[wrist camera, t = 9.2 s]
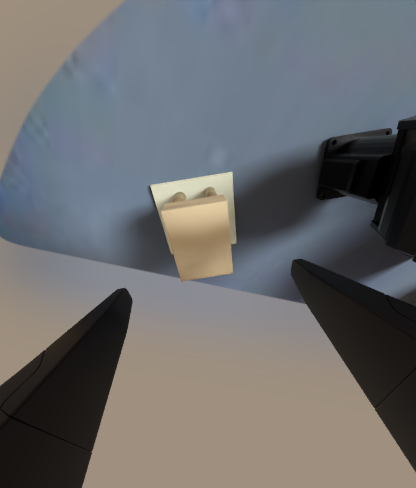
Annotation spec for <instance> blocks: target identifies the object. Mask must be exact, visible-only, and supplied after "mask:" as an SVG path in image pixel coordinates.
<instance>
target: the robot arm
mask: <svg viewBox="0 0 416 488" xmlns="http://www.w3.org/2000/svg"><path fill="white" fill-rule="evenodd" d="M397 129H399V130H398V133H397V134H395V135H391V134H392V129H391V128H387V129H380V130H374V131H368V132H362V133H356V134H349V135H343V136H337V137H332V138H330V139H329V140H328V141H327V145H326V150H325V155H324V160H323V164H322V169H321V174H320V180H319V187H318V192H317V199H319V200H325V199H332V198H338V197H344V196H350V197H353V198H357V199H360V200H363V201H367V202H370V203H374V204H377V209H376V213H375V216H374V220H372V222H371V227H372V228H373V229H374V230H376V231H377V232H378V233H379V234H380V235H381V236H382V237H383V238H384V239H385V240H386V241H385V244H386V245H388V246H389V247H391V248H393V249H395V250H397V251H399V252H401V253H403V254H405V255H407V256H410V257H413V259H412V261H414V262H416V116H414V117H410V118H407V119H403V120H400V121H399V123H398V127H397ZM385 133H386V134H385ZM384 134H385V135H384ZM332 141H334V143H333V145H332ZM322 194H323V196H322V197H321V195H322ZM291 275H292V278H293V280H294V282H295V284H296V286H297V287H298V289H299V291H300V293H301V295H302V297H303V299H304V301H305V303H306V304H307V306H308V307H309V309H310V310H311V312H312V314H313V315H314V316H315V318H316V320H317V321H318V323H319V324H320V326H321V327H322V329H323V330H324V332H325V333H326V335H327V336H328V338H329V340H330V341H331V342H332V344H333V346H334V347H335V349H336V350H337V352H338V353H339V355H340V356H341V358H342V359H343V361H344V362H345V364H346V366H347V367H348V368H349V370H350V372H351V373H352V375H353V376H354V378H355V379H356V381H357V382H358V384H359V385H360V387H361V389H362V390H363V392H364V393H365V395H366V396H367V398H368V399H369V401H370V402H371V404H372V405H373V407H374V408H375V410H376V412H377V413H378V415H379V416H380V418H381V419H382V421H383V423H384V424H385V426H386V427H387V429H388V430H389V432H390V433H391V435H392V436H393V438H394V439H395V441H396V443H397V444H398V445H399V447H400V449H401V450H402V452H403V453H404V455H405V456H406V458H407V459H408V461H409V462H410V464H411V466H412V467H413V469H414V470H415V472H416V307H415V306H413V305H410V304H408V303H405V302H403V301H401V300H398V299H396V298H393V297H391V296H389V295H385V294H384V293H381V292H379V291H377V290H374V289H372V288H370V287H367V286H365V285H363V284H360V283H358V282H355V281H353V280H351V279H348V278H346V277H344V276H341V275H339V274H336V273H334V272H332V271H329V270H327V269H325V268H322V267H320V266H317V265H315V264H313V263H310V262H308V261H306V260H303V259H295V260H293V261H292V267H291ZM131 307H132V298H131V296H130V294H129V292H128V291H127V289H126V288H121V289H117V290H116V291H115V292H113V293H112V294H111V295H110V296H109V297H108V298H106V299H105V300H104V301H103V302H101V304H99V305H98V306H97V307H96V308H94V309H93V310H92V311H91V312H90V313H88V314H87V315H86V316H85V317H84V318H82V319H81V320H80V321H79V322H78V323H76V324H75V325H74V326H73V327H72V328H70V329H69V330H68V331H67V332H66V333H64V334H63V335H62V336H61V337H60V338H59V339H57V340H56V341H55V342H54V343H53V344H51V345H50V346H49V347H48V348H47V349H46V350H44V351H43V352H42V353H40V355H38V356H37V357H36V358H34V359H33V360H32V361H31V362H30V363H28V364H27V365H26V366H25V367H24V368H22V369H21V370H20V371H19V372H17V373H16V374H15V375H14V376H12V377H11V378H10V379H8V380H7V381H6V382H5V383H3V384H2V385H1V386H0V488H82V485H83V482H84V478H85V475H86V472H87V468H88V464H89V461H90V458H91V454H92V452H91V451H92V450H93V447H94V443H95V440H96V437H97V433H98V430H99V426H100V423H101V419H102V416H103V412H104V409H105V406H106V402H107V399H108V395H109V391H110V388H111V385H112V381H113V378H114V374H115V371H116V368H117V364H118V361H119V357H120V354H121V350H122V347H123V343H124V340H125V337H126V333H127V329H128V324H129V318H130V313H131Z"/></svg>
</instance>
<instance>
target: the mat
mask: <svg viewBox="0 0 416 488" xmlns="http://www.w3.org/2000/svg"><path fill="white" fill-rule="evenodd" d="M150 186H151V190H152V193H153V196H154V200H155V203H156V206H157V209H158V213H159V216H160V219H161V222H162V226H163V229H164V232H165V235H166V239H167V242H168V245H169V249H170V252H171V254H173V251H172V248H171V244H170V241H169V237H168V234H167V231H166V227H165V224H164V221H163V217H162V214H161V210H162V208H163V206H164V205H165V204H167V203H172V202H173V200H174V197H175V195H176V193H178V192H183V193H184V194H185V196H186V200H192V199H198V198H204V197H206V196H205V190H206V188H208V187H212V188H214V189H215V191H216V193H217V195H224V196H225V198H226V199H227V203H228V215H229V227H230V240H231V244H237V242H236V226H235V209H234V193H233V177H232V172H227V173H220V174H214V175H208V176H202V177H196V178H190V179H184V180H178V181H171V182H165V183H159V184H153V185H150ZM186 200H185V201H186Z"/></svg>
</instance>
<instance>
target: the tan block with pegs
mask: <svg viewBox="0 0 416 488" xmlns="http://www.w3.org/2000/svg"><path fill="white" fill-rule="evenodd" d="M205 196H206V197H204V198H198V199H192V200H186V196H185V194H184V193H183V192H178V193H176V195H175V197H174V200H173V202H172V203H167V204H165V205H164V206H163V208H162V210H161V214H162V217H163V221H164V224H165V227H166V231H167V234H168V237H169V241H170V244H171V248H172V251H173V254H174V258H175V261H176V265H177V268H178V271H179V275H180V278H181V281H186V280H193V279H199V278H206V277H212V276H218V275H225V274H231V273H233V265H232V252H231V240H230V227H229V215H228V203H227V199H226V198H225V196H224V195H217V193H216V191H215V189H214V188H212V187H208V188H206V190H205ZM185 200H186V201H185Z"/></svg>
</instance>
